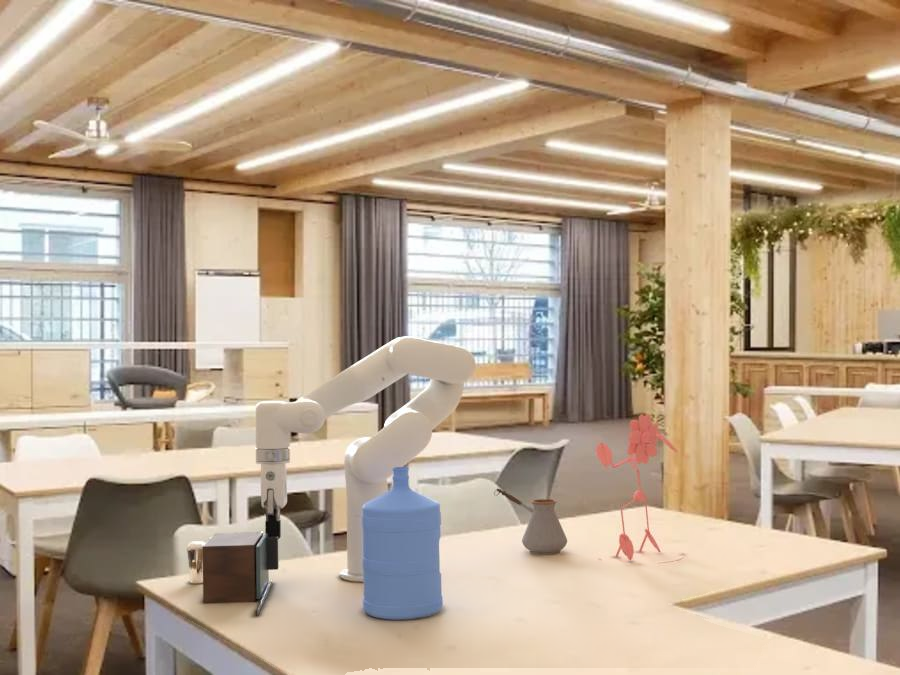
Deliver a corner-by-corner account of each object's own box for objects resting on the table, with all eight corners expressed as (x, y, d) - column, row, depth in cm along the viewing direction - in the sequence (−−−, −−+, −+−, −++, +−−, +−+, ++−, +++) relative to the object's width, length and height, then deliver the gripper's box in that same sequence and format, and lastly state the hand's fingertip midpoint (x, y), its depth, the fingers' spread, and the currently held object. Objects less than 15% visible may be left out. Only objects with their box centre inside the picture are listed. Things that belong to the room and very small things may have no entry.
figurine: (590, 561, 237) (587, 416, 238) (657, 547, 254) (653, 410, 255) (641, 571, 225) (637, 418, 226) (707, 555, 242) (704, 412, 243)
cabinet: (272, 583, 220) (271, 531, 220) (257, 616, 192) (256, 556, 192) (215, 585, 219) (214, 533, 219) (192, 618, 191) (191, 558, 191)
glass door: (279, 581, 219) (279, 532, 219) (272, 598, 203) (271, 546, 204) (265, 582, 219) (264, 533, 219) (256, 599, 203) (255, 546, 203)
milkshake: (206, 584, 220) (205, 539, 220) (183, 584, 221) (183, 539, 221) (214, 580, 224) (214, 536, 225) (193, 579, 225) (192, 535, 226)
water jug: (413, 625, 183) (411, 474, 184) (346, 614, 192) (344, 470, 192) (457, 606, 197) (455, 465, 197) (393, 597, 205) (391, 462, 206)
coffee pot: (576, 550, 251) (575, 491, 251) (550, 558, 242) (548, 496, 243) (510, 541, 265) (509, 485, 265) (482, 548, 256) (481, 490, 257)
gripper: (286, 459, 214) (286, 544, 213) (292, 452, 229) (293, 532, 228) (251, 459, 213) (251, 545, 213) (260, 453, 228) (260, 533, 228)
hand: (273, 538), depth 221 cm, fingers closed
